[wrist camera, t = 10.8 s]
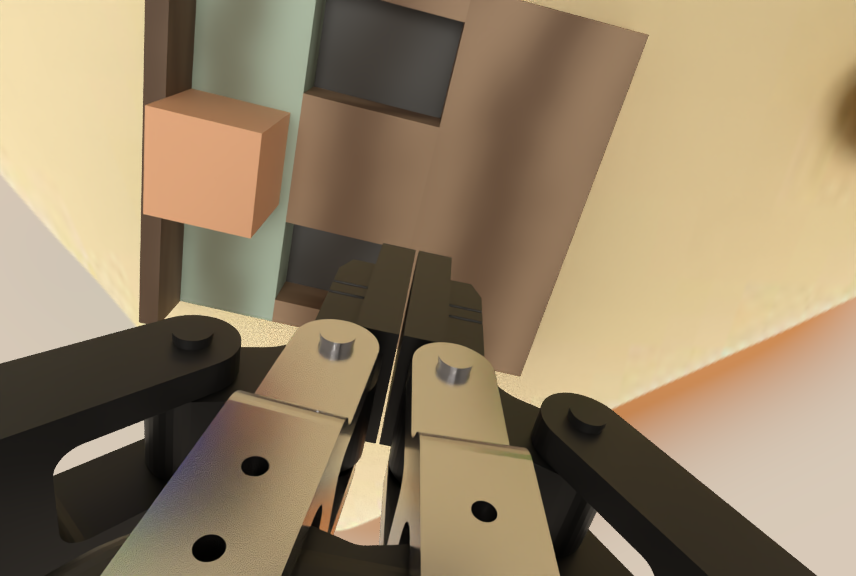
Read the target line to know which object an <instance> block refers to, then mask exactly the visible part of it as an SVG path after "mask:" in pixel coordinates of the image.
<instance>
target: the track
mask: <svg viewBox="0 0 856 576" xmlns="http://www.w3.org/2000/svg"><path fill="white" fill-rule="evenodd" d="M648 36H649V35H647V34H643V33H640V32H636V31H632V30H629V29H625V28H621V27H617V26H614V25H610V24H606V23H603V22H599V21H595V20H592V19H588V18H584V17H580V16H577V15H573V14H569V13H566V12H562V11H558V10H554V9H551V8H547V7H543V6H540V5H536V4H532V3H528V2H525V1H521V0H145V33H144V87H143V141H142V195H141V249H140V302H139V322H140V323H145V324H149V323H153V322H157V321H160V320H164V318H165V317H166V316H167V315H168V314H169V313H170V312H171V311H172V309H173V308H174V307H175V306H176V305H177V304H178V303H179V302H180V301H183V302H188V303H192V304H197V305H201V306H206V307H210V308H215V309H219V310H224V311H228V312H233V313H237V314H242V315H246V316H251V317H255V318H260V319H264V320H269V321H273V322H278V323H282V324H287V325H291V326H296V327H301V326H302V325H304V324H306V323H308V322H312V321H315V319H316V317H317V315H318V313H319V311H320V308H321V306H322V304H323V302H324V300H325V298H326V295H327V293H328V292H329V289H330V287H331V285H332V282H333V281H334V278H335V276H336V274H337V272H338V269H339V267H341V266H343V265H345V264H347V263H348V262H350V261H352V260H354V259H355V260H360V261H364V262H369V263H374V264H376V262H377V259H378V256H379V253H380V250H381V247H382V244H383V243H386V244H391V245H396V246H400V247H405V248H409V249H414V250H416V252H415V257H414V262H413V268H412V273H411V278H410V283H409V288H408V293H407V298H406V303H405V308H404V314H403V319H402V324H401V329H400V334H401V330H402V325H403V320H404V315H405V311H406V306H407V302H408V297H409V293H410V288H411V284H412V279H413V274H414V270H415V265H416V261H417V256H418V252H419V251H424V252H428V253H433V254H438V255H442V256H447V257H452V264H451V280H454V281H458V282H463V283H468V284H471V285H472V286H473V287H474V289H475V290H476V291H477V292H478V294H479V295H480V296H481V298H482V318H483V322H482V324H483V338H484V358H486V359H487V360H488V361H489V362H490V364H491V365H492V367H493V368H494V371H498V372H503V373H507V374H512V375H516V376H521V373H522V370H523V368H524V365H525V362H526V360H527V357H528V354H529V352H530V349H531V346H532V344H533V341H534V338H535V336H536V333H537V330H538V328H539V325H540V322H541V320H542V317H543V314H544V312H545V309H546V307H547V304H548V301H549V299H550V296H551V293H552V291H553V288H554V285H555V283H556V280H557V277H558V275H559V272H560V269H561V267H562V264H563V261H564V259H565V256H566V253H567V251H568V248H569V246H570V243H571V240H572V238H573V235H574V232H575V230H576V227H577V224H578V222H579V219H580V216H581V214H582V211H583V208H584V206H585V203H586V200H587V198H588V195H589V192H590V190H591V187H592V184H593V182H594V179H595V177H596V174H597V171H598V169H599V166H600V163H601V161H602V158H603V155H604V153H605V150H606V147H607V145H608V142H609V139H610V137H611V134H612V131H613V129H614V126H615V123H616V121H617V118H618V116H619V113H620V110H621V108H622V105H623V102H624V100H625V97H626V94H627V92H628V89H629V86H630V84H631V81H632V78H633V76H634V73H635V70H636V68H637V65H638V62H639V60H640V57H641V54H642V52H643V49H644V47H645V44H646V41H647V39H648ZM191 88H192V89H196V90H200V91H204V92H208V93H212V94H216V95H221V96H225V97H229V98H233V99H237V100H241V101H245V102H249V103H253V104H257V105H261V106H265V107H269V108H273V109H278V110H282V111H286V112H290V121H289V128H288V136H287V144H286V152H285V160H284V168H283V176H282V184H281V192H280V200H279V205H278V206H277V207H276V209H275V210H274V211H273V212H272V213H271V215H270V216H269V217H268V218H267V219H266V221H265V222H264V223H263V224H262V225H261V227H260V228H259V229H258V230H257V232H256V233H255V234H254V235H253V236H252V238H251V239H250V238H246V237H242V236H237V235H233V234H228V233H224V232H220V231H215V230H211V229H207V228H202V227H198V226H194V225H189V224H185V223H180V222H176V221H172V220H167V219H163V218H159V217H154V216H150V215H146V214H143V190H144V132H145V105H147V104H150V103H153V102H155V101H158V100H161V99H164V98H166V97H169V96H172V95H175V94H178V93H180V92H183V91H186V90H189V89H191ZM400 334H399V339H400ZM399 339H398V343H397V348H396V349H398V344H399Z"/></svg>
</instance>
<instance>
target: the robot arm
mask: <svg viewBox="0 0 856 576" xmlns="http://www.w3.org/2000/svg"><path fill="white" fill-rule="evenodd" d="M415 252H416V250H414V249H409V248H405V247H400V246H396V245H391V244H386V243H383V244H382V247H381V250H380V253H379V256H378V259H377V262H376V264H374V263H369V262H364V261H360V260H355V259H354V260H352V261H350V262H348V263H347V264H345V265H343V266H341V267H339V269H338V272H337V274H336V276H335V278H334V281H333V282H332V285H331V287H330V289H329V292H328V293H327V295H326V298H325V300H324V302H323V304H322V306H321V308H320V311H319V313H318V315H317V317H316V319H315V321H312V322H308V323H306V324H304V325H302V326H301V327H300V328H298V329H297V331H296V332H295V333H294V335H293V336H292V338H291V339H290V341H289V342H288V344H287V345H283V346H277V347H241V336H240V334H239V332H238V331H237V330H236V329H235V328H234V327H233V326H232V325H230V324H229V323H227V322H225V321H223V320H220V319H217V318H213V317H208V316H201V315H184V316H177V317H172V318H168V319H164V320H160V321H157V322H153V323H149V324H146V325H142V326H138V327H135V328H131V329H127V330H123V331H120V332H116V333H113V334H108V335H105V336H101V337H97V338H94V339H90V340H86V341H83V342H79V343H75V344H72V345H68V346H64V347H60V348H57V349H53V350H49V351H46V352H42V353H38V354H35V355H31V356H27V357H23V358H20V359H16V360H12V361H9V362H5V363H1V364H0V576H634V575H633V574H632V573H631V572H630V571H629V570H628V569H627V568H626V567H625V566H624V565H623V564H622V563H621V562H620V561H619V560H618V559H617V558H616V557H615V556H614V555H613V554H612V553H611V552H610V551H609V550H608V549H607V548H606V547H605V546H604V545H603V544H602V543H601V542H600V541H599V540H598V539H597V538H596V537H595V536H594V535H593V534H592V532H591V531H590V530H589V527H590V525H591V522H592V520H593V518H594V516H595V514H596V512H598V513H599V514H600V515H601V516H602V517H603V518H604V519H605V520H606V521H607V522H608V523H609V524H610V525H611V526H612V527H613V528H614V529H615V530H616V531H617V532H618V533H619V534H620V535H621V536H622V537H623V538H624V539H625V540H626V541H627V542H628V543H629V544H630V545H631V546H632V547H633V548H634V549H636V550H637V551H638V552H639V553H640V554H641V555H642V557H643V558H644V559H645V560H646V561H647V562H648V564H649V565H650V567H651V569H652V571H653V573H654V576H816V575H815V574H814V573H813V572H812V571H810V570H809V569H808V568H807V567H806V566H804V565H803V564H802V563H801V562H799V561H798V560H797V559H796V558H794V557H793V556H792V555H791V554H789V553H788V552H787V551H786V550H785V549H783V548H782V547H781V546H779V545H778V544H777V543H776V542H775V541H773V540H772V539H771V538H770V537H768V536H767V535H766V534H765V533H763V532H762V531H761V530H760V529H759V528H757V527H756V526H755V525H754V524H752V523H751V522H750V521H749V520H747V519H746V518H745V517H744V516H742V515H741V514H740V513H739V512H737V511H736V510H735V509H734V508H733V507H731V506H730V505H729V504H728V503H726V502H725V501H724V500H723V499H721V498H720V497H719V496H718V495H716V494H715V493H714V492H713V491H712V490H710V489H709V488H708V487H707V486H705V485H704V484H703V483H701V482H700V481H699V480H698V479H696V478H695V477H694V476H693V475H692V474H690V473H689V472H688V471H687V470H686V469H684V468H683V467H682V466H680V465H679V464H678V463H677V462H676V461H674V460H673V459H672V458H670V457H669V456H668V455H667V454H666V453H664V452H663V451H662V450H661V449H659V448H658V447H657V446H656V445H655V444H653V443H652V442H651V441H650V440H648V439H647V438H646V437H645V436H643V435H642V434H641V433H640V432H639V431H637V430H636V429H635V428H633V427H632V426H631V425H630V424H628V423H627V422H626V421H625V420H624V419H622V418H621V417H620V416H619V415H617V414H616V413H615V412H614V411H612V410H611V409H610V408H608V407H607V406H605V405H604V404H602V403H600V402H598V401H596V400H594V399H592V398H589V397H586V396H583V395H579V394H574V393H557V394H553V395H551V396H549V397H547V398H546V399H545V400H544V401H543V403H542V405H541V408H538V407H535V406H533V405H531V404H528V403H526V402H524V401H521V400H519V399H517V398H515V397H513V396H511V395H509V394H508V393H506V392H505V391H503V390H502V389H501V388H499V387H498V384H497V379H496V374H495V371H494V368H493V367H492V365H491V364H490V362H489V361H488V360H487V359H486V358H484V338H483V324H482V322H483V318H482V298H481V296H480V295H479V294H478V292H477V291H476V290H475V289H474V287H473V286H472V285H471V284H468V283H463V282H458V281H454V280H451V264H452V257H447V256H442V255H438V254H433V253H428V252H424V251H419V252H418V256H417V261H416V265H415V270H414V274H413V279H412V284H411V288H410V293H409V297H408V302H407V306H406V311H405V315H404V320H403V325H402V330H401V334H400V329H401V324H402V319H403V314H404V308H405V303H406V298H407V293H408V288H409V283H410V278H411V273H412V268H413V262H414V257H415ZM399 334H400V339H399ZM398 339H399V344H398V350H397V355H396V360H395V365H394V370H393V376H392V381H391V386H390V391H389V396H388V402H387V407H386V412H385V417H384V422H383V428H382V433H381V438H380V443H379V444H382V445H387V446H391V449H390V455H389V460H388V464H387V469H386V473H385V477H384V482H383V496H382V510H381V525H380V540H379V545H372V546H362V545H356V544H353V543H350V542H348V541H345V540H343V539H341V538H339V537H336V536H334V532H335V529H336V526H337V523H338V520H339V517H340V514H341V511H342V508H343V505H344V503H345V500H346V497H347V494H348V491H349V488H350V485H351V482H352V479H353V476H354V471H355V466H356V463H357V462H358V460H359V459H360V457H361V455H362V451H363V447H364V443H365V441H366V442H371V443H376V439H377V435H378V430H379V426H380V421H381V416H382V412H383V407H384V403H385V398H386V394H387V389H388V384H389V380H390V375H391V371H392V366H393V362H394V357H395V352H396V348H397V343H398ZM143 420H144V427H145V438H144V439H142V440H140V441H137V442H135V443H132V444H130V445H127V446H125V447H122V448H120V449H118V450H115V451H113V452H110V453H108V454H105V455H103V456H101V457H98V458H96V459H93V460H91V461H89V462H86V463H84V464H81V465H79V466H76V467H74V468H71V469H69V470H66V471H64V472H62V473H59V474H57V475H54V476H53V473H54V469H55V467H56V465H57V464H58V462H59V461H60V460H61V458H62V457H63V456H64V455H66V454H67V453H68V452H69V451H71V450H72V449H74V448H75V447H77V446H79V445H81V444H84V443H86V442H89V441H91V440H94V439H97V438H99V437H102V436H104V435H107V434H109V433H112V432H115V431H117V430H120V429H122V428H125V427H127V426H130V425H133V424H135V423H138V422H140V421H143Z"/></svg>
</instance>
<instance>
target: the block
mask: <svg viewBox="0 0 856 576" xmlns="http://www.w3.org/2000/svg"><path fill="white" fill-rule="evenodd" d="M289 121H290V112H286V111H282V110H278V109H273V108H269V107H265V106H261V105H257V104H253V103H249V102H245V101H241V100H237V99H233V98H229V97H225V96H221V95H216V94H212V93H208V92H204V91H200V90H196V89H192V88H191V89H189V90H186V91H183V92H180V93H178V94H175V95H172V96H169V97H166V98H164V99H161V100H158V101H155V102H153V103H150V104H147V105H145V132H144V190H143V214H146V215H150V216H154V217H159V218H163V219H167V220H172V221H176V222H180V223H185V224H189V225H194V226H198V227H202V228H207V229H211V230H215V231H220V232H224V233H228V234H233V235H237V236H242V237H246V238H250V239H251V238H252V236H253V235H254V234H255V233H256V232H257V230H258V229H259V228H260V227H261V225H262V224H263V223H264V222H265V221H266V219H267V218H268V217H269V216H270V215H271V213H272V212H273V211H274V210H275V209H276V207H277V206H278V205H279V200H280V192H281V184H282V176H283V168H284V160H285V152H286V144H287V136H288V128H289Z"/></svg>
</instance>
